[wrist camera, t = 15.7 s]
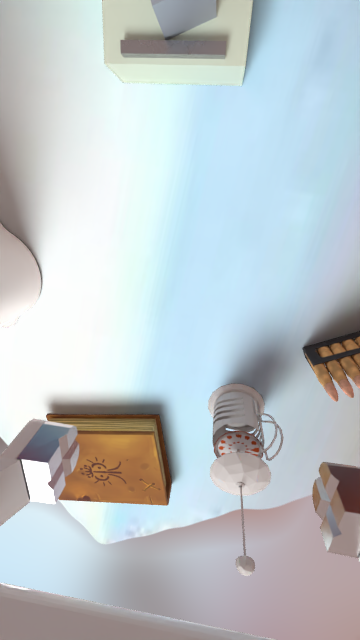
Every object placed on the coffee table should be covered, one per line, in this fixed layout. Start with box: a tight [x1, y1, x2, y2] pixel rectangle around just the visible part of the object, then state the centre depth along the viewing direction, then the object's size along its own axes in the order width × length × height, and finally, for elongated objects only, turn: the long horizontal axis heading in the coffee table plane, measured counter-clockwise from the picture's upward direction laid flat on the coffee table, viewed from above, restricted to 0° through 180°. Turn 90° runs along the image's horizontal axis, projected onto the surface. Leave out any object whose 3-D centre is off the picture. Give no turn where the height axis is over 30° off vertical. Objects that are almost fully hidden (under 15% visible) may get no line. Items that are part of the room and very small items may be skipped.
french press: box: [208, 384, 283, 576], centre depth 40 cm, size 10×12×25 cm
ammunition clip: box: [303, 331, 360, 402], centre depth 39 cm, size 11×2×12 cm, turn 114°
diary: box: [46, 414, 172, 505], centre depth 59 cm, size 23×19×6 cm
